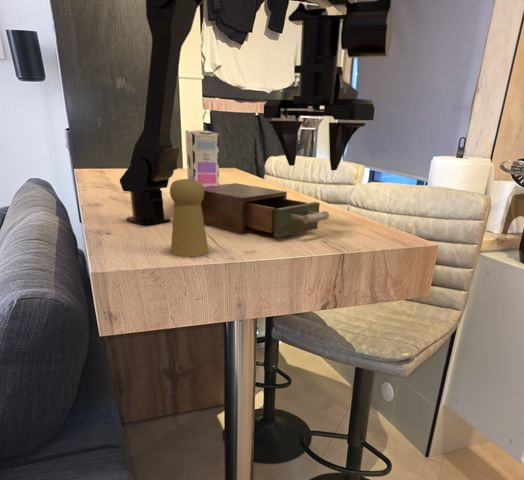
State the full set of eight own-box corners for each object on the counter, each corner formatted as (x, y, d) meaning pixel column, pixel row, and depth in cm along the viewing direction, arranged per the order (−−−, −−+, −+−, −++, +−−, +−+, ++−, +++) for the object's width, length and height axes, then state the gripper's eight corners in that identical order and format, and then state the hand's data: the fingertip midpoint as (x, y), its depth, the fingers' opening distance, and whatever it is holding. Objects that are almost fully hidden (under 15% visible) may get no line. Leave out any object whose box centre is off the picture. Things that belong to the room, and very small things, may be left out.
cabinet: (285, 225, 93) (286, 191, 90) (241, 234, 85) (242, 197, 82) (235, 214, 102) (235, 183, 99) (191, 221, 94) (190, 188, 91)
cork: (190, 244, 78) (187, 176, 72) (216, 251, 74) (214, 180, 69) (163, 251, 73) (157, 179, 68) (188, 258, 70) (185, 183, 65)
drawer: (335, 232, 85) (338, 206, 83) (297, 242, 77) (299, 213, 75) (266, 217, 95) (266, 193, 93) (226, 224, 88) (226, 199, 86)
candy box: (220, 212, 103) (219, 132, 95) (194, 213, 102) (191, 131, 94) (211, 201, 115) (209, 129, 107) (187, 202, 113) (184, 129, 106)
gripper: (400, 59, 69) (385, 169, 76) (306, 66, 80) (301, 161, 87) (358, 52, 62) (346, 174, 69) (261, 60, 73) (260, 164, 80)
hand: (312, 167), depth 77 cm, fingers open, 9 cm apart
